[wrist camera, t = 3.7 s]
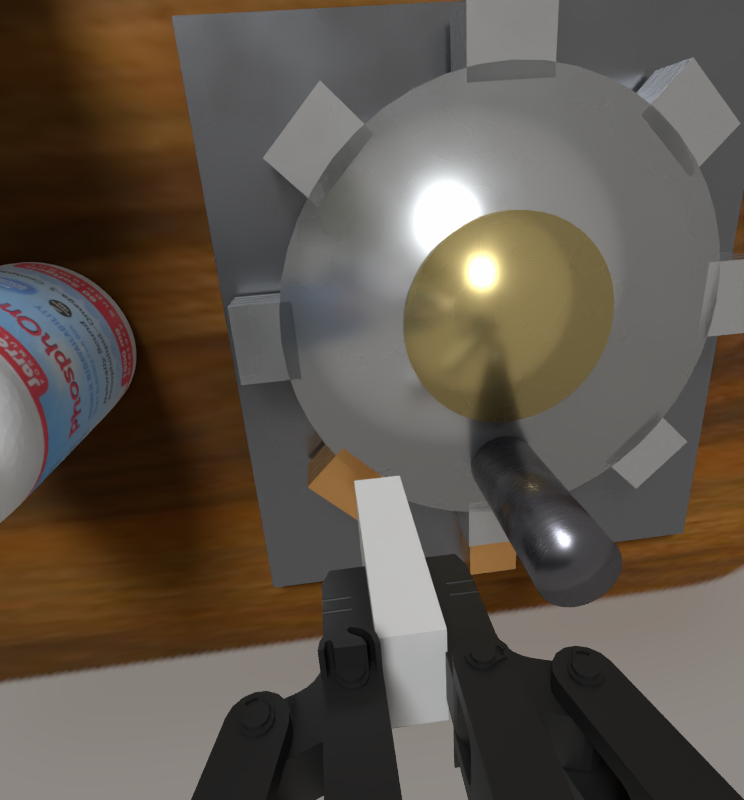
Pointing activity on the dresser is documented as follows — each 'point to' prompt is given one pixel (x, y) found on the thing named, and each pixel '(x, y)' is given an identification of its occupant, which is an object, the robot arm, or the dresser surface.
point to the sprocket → (500, 286)
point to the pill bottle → (54, 370)
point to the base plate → (282, 202)
